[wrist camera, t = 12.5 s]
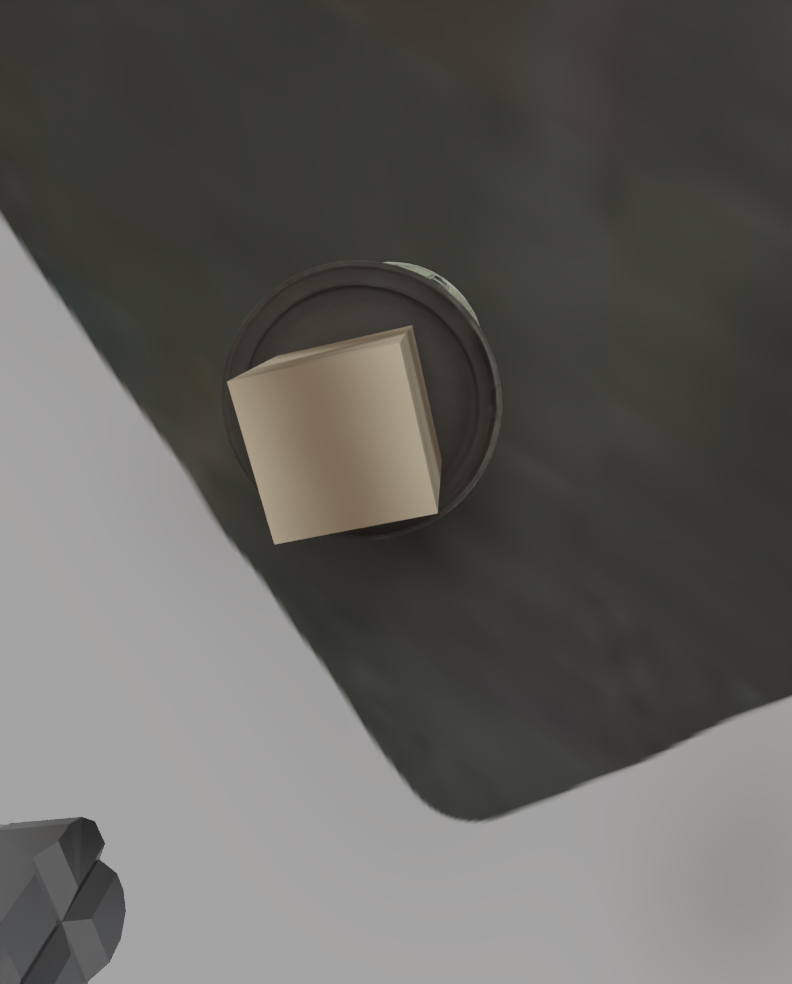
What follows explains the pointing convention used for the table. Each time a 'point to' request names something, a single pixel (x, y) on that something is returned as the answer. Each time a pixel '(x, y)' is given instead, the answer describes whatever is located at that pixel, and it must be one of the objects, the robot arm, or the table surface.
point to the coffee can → (373, 309)
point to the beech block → (340, 436)
